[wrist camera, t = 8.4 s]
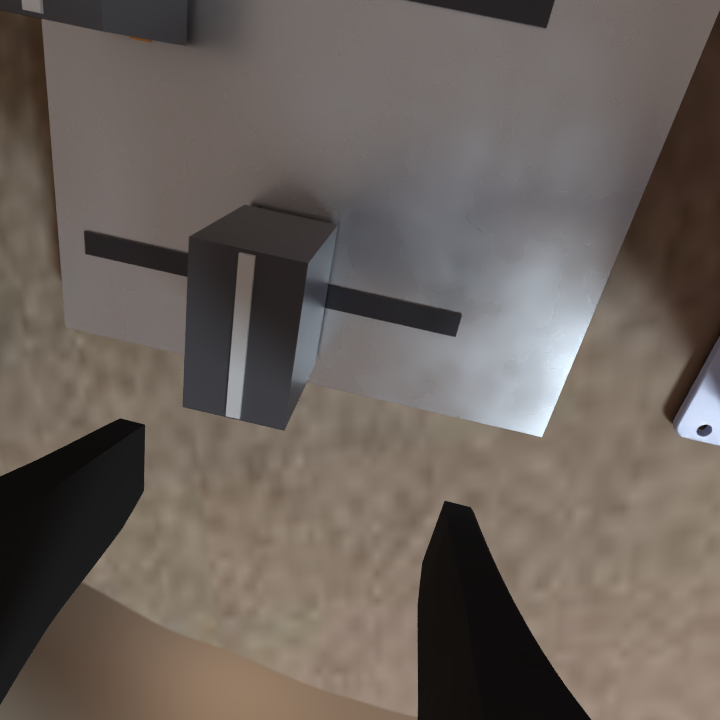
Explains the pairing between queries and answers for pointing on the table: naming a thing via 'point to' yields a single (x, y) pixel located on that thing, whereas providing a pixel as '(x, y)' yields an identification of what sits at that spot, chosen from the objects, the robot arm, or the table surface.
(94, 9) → the block
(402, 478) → the table surface
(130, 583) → the table surface
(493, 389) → the fader panel
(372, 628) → the table surface
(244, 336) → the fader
